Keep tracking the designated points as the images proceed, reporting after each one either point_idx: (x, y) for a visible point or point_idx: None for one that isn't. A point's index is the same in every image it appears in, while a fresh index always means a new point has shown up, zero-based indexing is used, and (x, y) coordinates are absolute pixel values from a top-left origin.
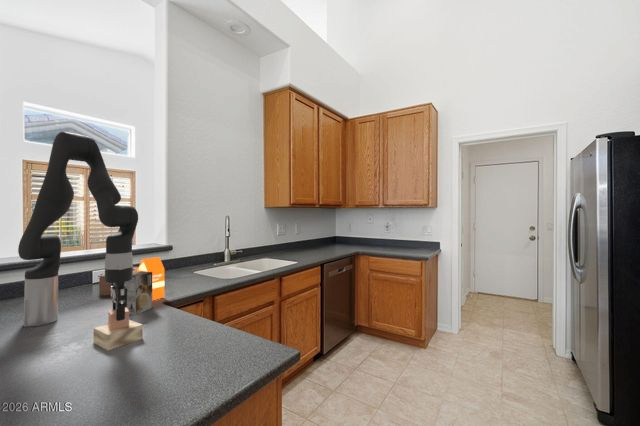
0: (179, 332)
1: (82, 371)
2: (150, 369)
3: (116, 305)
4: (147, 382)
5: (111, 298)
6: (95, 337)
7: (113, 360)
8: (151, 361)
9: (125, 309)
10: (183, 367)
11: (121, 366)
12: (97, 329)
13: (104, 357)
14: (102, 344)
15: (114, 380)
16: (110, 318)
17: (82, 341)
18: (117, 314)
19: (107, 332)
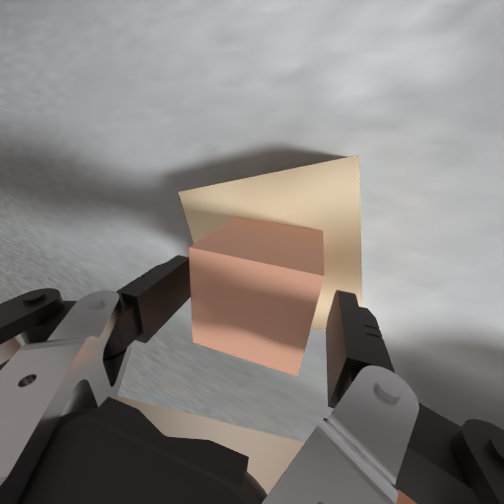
0: (212, 359)
1: (99, 83)
2: (53, 226)
3: (72, 311)
4: (10, 202)
5: (490, 444)
6: (326, 161)
7: (130, 178)
8: (86, 243)
9: (248, 350)
10: (44, 269)
11: (87, 184)
12: (308, 169)
13: (164, 161)
14: (252, 176)
15: (30, 152)
16: (205, 237)
17: (425, 111)
18: (154, 275)
19: (217, 199)
